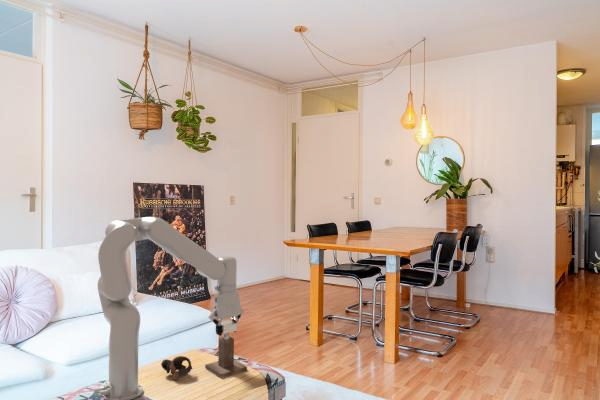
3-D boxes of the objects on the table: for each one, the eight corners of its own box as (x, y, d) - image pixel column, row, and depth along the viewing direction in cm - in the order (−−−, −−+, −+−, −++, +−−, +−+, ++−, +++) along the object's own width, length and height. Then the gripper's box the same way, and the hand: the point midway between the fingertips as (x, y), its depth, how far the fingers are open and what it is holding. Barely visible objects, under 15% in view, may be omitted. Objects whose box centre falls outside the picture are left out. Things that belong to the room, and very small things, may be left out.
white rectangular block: (223, 364, 171) (223, 326, 171) (215, 359, 176) (216, 322, 175) (236, 360, 175) (236, 323, 175) (228, 356, 179) (229, 319, 179)
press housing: (220, 378, 167) (220, 345, 167) (205, 368, 176) (205, 337, 176) (246, 370, 175) (247, 339, 174) (231, 361, 184) (231, 331, 184)
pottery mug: (192, 370, 175) (196, 356, 171) (185, 390, 166) (188, 376, 163) (163, 363, 174) (166, 348, 170) (154, 382, 166) (157, 368, 162)
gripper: (212, 292, 166) (211, 340, 167) (250, 287, 178) (249, 331, 178) (202, 289, 172) (202, 335, 172) (240, 283, 183) (239, 326, 184)
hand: (226, 332), depth 175 cm, fingers closed on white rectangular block, 6 cm apart
